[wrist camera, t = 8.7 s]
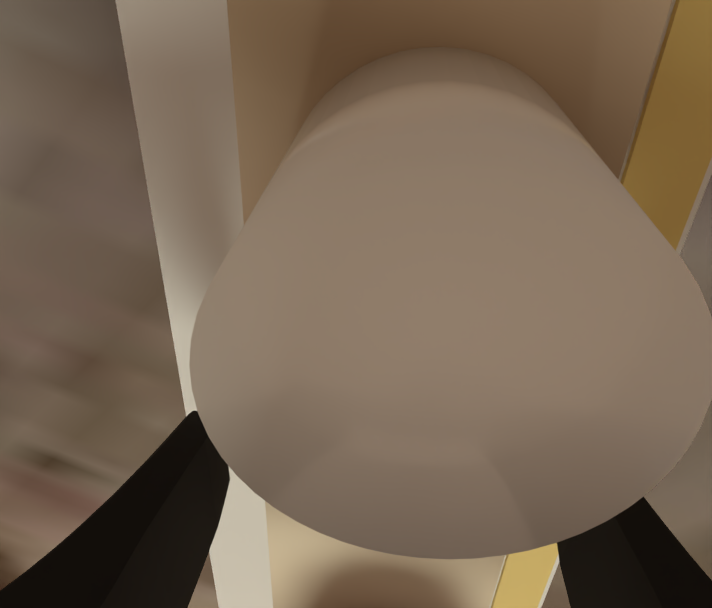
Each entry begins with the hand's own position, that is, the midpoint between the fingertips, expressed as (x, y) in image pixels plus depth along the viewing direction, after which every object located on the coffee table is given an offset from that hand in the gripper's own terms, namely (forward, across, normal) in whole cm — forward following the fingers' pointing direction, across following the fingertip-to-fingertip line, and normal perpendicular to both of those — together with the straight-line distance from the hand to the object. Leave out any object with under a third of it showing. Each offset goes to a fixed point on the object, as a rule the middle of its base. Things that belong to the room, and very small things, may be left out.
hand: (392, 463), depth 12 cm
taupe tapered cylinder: (-1, 0, -6) cm, 6 cm away
